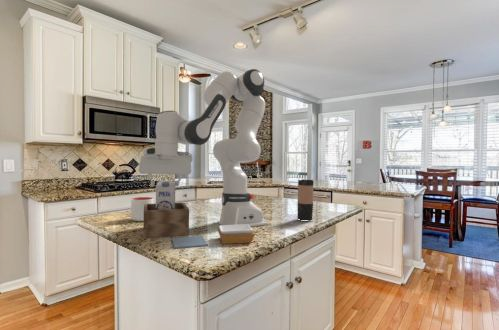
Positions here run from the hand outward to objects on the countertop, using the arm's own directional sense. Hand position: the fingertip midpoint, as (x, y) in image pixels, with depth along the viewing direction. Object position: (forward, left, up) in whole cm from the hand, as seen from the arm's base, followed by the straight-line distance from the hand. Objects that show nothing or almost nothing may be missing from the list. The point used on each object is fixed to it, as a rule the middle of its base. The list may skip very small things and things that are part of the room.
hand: (165, 185), depth 113 cm
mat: (-7, +18, -18) cm, 27 cm away
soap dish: (-24, +20, -19) cm, 36 cm away
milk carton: (0, 0, -19) cm, 19 cm away
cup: (+9, -25, -19) cm, 33 cm away
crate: (0, 0, -18) cm, 18 cm away
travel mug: (-67, -4, -19) cm, 70 cm away
